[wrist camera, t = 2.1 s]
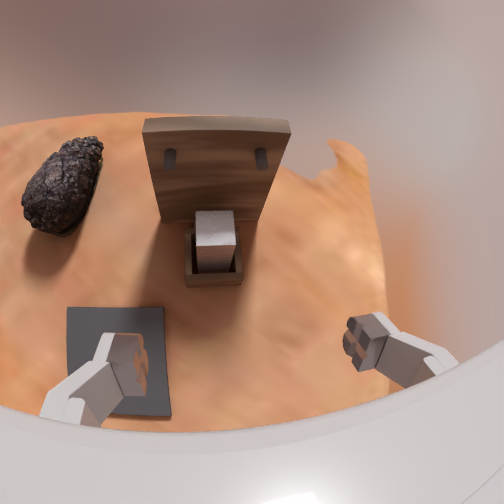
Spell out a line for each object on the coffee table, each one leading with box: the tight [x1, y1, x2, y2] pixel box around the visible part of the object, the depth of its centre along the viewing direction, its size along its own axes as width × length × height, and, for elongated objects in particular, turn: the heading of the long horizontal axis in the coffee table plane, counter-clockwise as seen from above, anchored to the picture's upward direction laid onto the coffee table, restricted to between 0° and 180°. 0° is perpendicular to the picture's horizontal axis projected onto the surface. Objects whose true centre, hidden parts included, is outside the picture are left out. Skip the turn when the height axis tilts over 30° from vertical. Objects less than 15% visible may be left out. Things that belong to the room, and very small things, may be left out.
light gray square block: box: [196, 211, 236, 274], centre depth 33 cm, size 4×4×10 cm
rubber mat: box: [67, 307, 172, 416], centre depth 30 cm, size 14×14×1 cm
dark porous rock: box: [21, 136, 104, 237], centre depth 34 cm, size 10×18×10 cm, turn 177°
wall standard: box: [142, 116, 291, 287], centre depth 30 cm, size 12×14×18 cm
